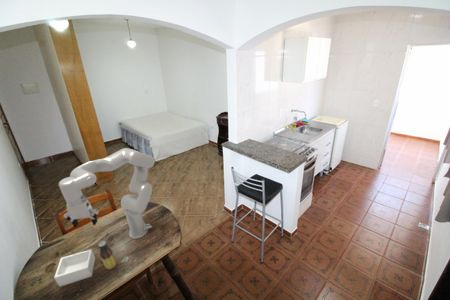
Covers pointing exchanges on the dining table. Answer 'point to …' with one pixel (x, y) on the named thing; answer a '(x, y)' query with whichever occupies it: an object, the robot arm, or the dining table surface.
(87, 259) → the storage box
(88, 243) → the dining table surface
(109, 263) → the sauce bottle
